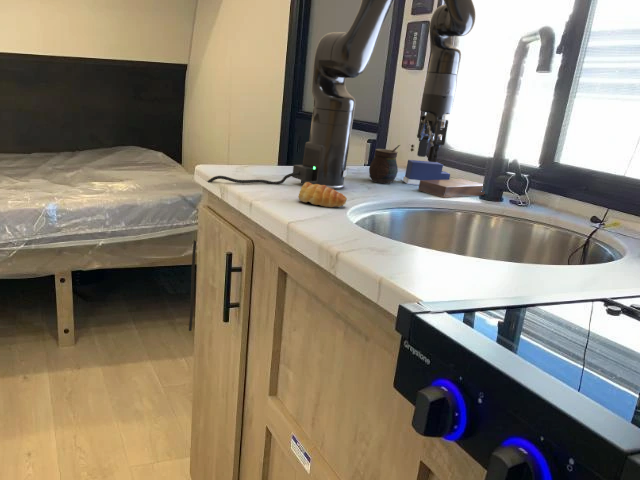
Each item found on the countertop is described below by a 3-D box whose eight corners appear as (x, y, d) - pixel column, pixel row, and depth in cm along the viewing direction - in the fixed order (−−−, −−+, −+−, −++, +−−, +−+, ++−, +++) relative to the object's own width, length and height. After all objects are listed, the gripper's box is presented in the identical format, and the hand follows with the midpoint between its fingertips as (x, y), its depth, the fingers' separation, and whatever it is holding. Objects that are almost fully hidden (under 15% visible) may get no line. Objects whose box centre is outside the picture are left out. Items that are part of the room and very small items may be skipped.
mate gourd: (376, 178, 159) (383, 139, 155) (401, 183, 154) (409, 144, 150) (361, 180, 154) (367, 140, 150) (386, 186, 149) (394, 144, 145)
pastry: (349, 205, 123) (352, 186, 121) (339, 211, 117) (342, 191, 115) (306, 197, 126) (308, 179, 125) (294, 202, 120) (297, 183, 119)
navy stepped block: (407, 184, 154) (411, 162, 152) (402, 180, 158) (406, 159, 156) (449, 187, 155) (453, 165, 153) (443, 184, 159) (447, 162, 157)
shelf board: (443, 197, 140) (445, 186, 139) (417, 190, 147) (419, 180, 146) (486, 195, 149) (489, 185, 148) (460, 188, 155) (462, 178, 154)
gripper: (415, 90, 155) (404, 154, 161) (433, 93, 142) (420, 162, 148) (443, 92, 155) (431, 156, 161) (464, 95, 142) (450, 164, 148)
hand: (426, 159), depth 155 cm, fingers open, 8 cm apart
